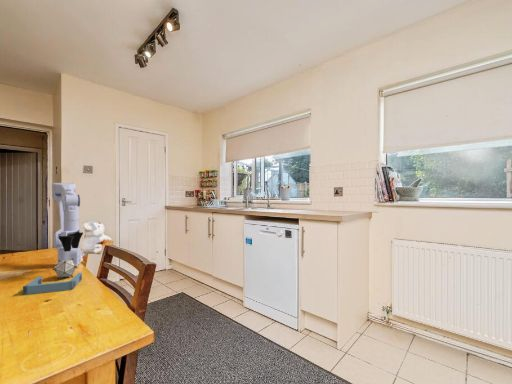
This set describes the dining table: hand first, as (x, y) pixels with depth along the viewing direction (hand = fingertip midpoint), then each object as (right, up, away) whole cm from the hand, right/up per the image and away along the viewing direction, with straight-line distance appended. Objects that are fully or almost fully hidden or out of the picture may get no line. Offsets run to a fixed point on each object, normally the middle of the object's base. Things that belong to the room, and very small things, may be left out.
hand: (71, 249), depth 116 cm
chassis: (+7, -10, -18) cm, 22 cm away
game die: (+3, -11, -8) cm, 13 cm away
